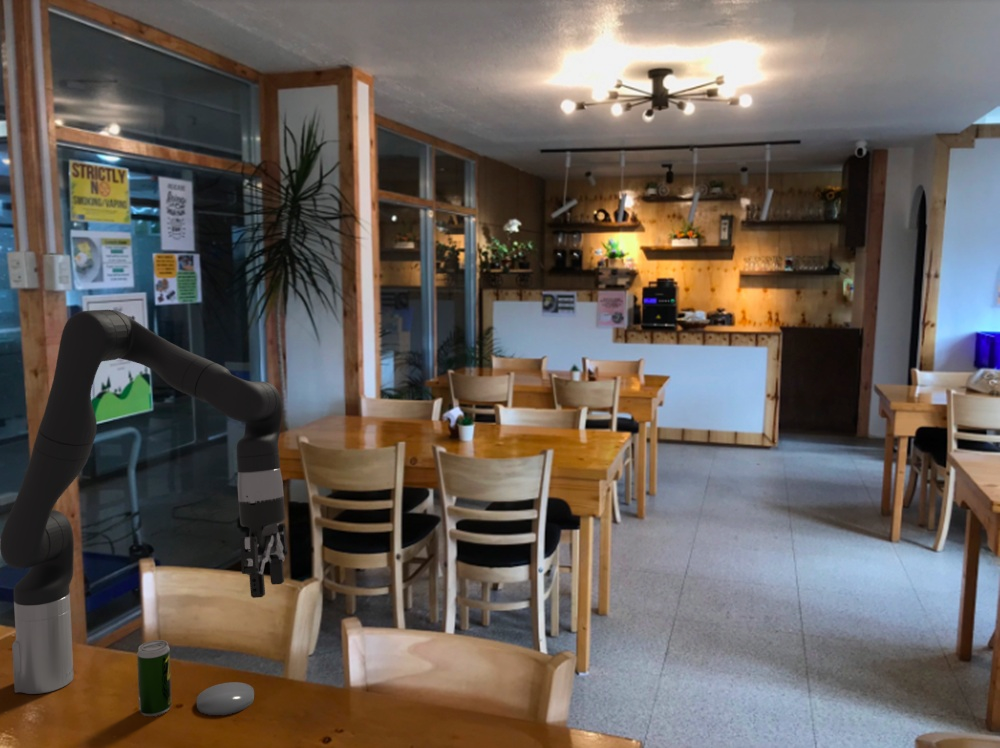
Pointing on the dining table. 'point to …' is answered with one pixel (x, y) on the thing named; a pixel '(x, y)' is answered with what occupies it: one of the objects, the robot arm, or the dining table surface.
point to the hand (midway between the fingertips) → (268, 590)
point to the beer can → (154, 678)
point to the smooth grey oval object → (225, 698)
